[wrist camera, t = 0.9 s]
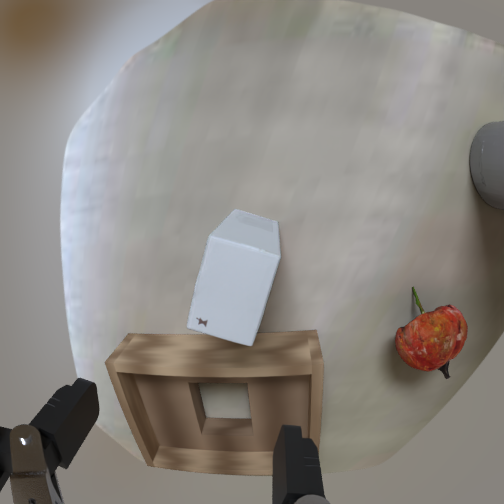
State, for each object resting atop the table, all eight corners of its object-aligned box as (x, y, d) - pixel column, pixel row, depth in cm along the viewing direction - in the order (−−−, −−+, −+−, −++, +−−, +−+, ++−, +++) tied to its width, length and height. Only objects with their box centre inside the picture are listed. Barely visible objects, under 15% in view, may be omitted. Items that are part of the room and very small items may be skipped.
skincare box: (261, 281, 30) (252, 350, 19) (217, 268, 30) (183, 330, 19) (280, 219, 28) (283, 256, 17) (234, 206, 28) (205, 233, 17)
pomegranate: (373, 304, 32) (396, 394, 28) (393, 283, 26) (424, 395, 22) (431, 287, 32) (454, 370, 28) (459, 263, 25) (490, 364, 21)
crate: (316, 329, 31) (323, 363, 25) (313, 437, 35) (316, 472, 29) (128, 333, 33) (104, 362, 27) (160, 434, 37) (147, 465, 31)
